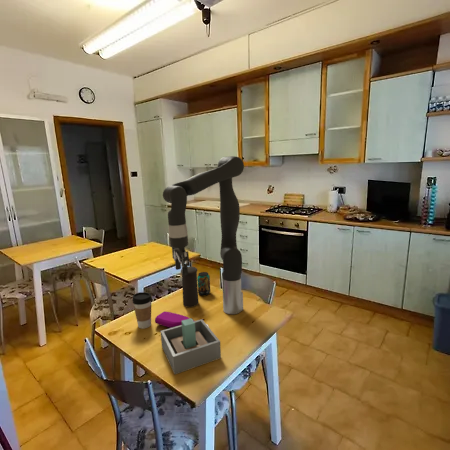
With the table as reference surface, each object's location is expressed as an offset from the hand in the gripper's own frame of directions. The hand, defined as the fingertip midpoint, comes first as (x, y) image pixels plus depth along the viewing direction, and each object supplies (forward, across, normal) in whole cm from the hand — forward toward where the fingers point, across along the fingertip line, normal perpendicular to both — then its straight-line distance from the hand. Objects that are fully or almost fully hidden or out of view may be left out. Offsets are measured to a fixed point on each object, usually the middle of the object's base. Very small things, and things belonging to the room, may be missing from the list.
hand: (181, 272), depth 118 cm
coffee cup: (+28, +15, +15) cm, 35 cm away
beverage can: (+28, +31, -22) cm, 48 cm away
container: (+28, +23, -11) cm, 38 cm away
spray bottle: (+28, +5, 0) cm, 28 cm away
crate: (+28, -14, +4) cm, 31 cm away
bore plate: (+28, -14, +4) cm, 31 cm away
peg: (+27, -14, +4) cm, 31 cm away
